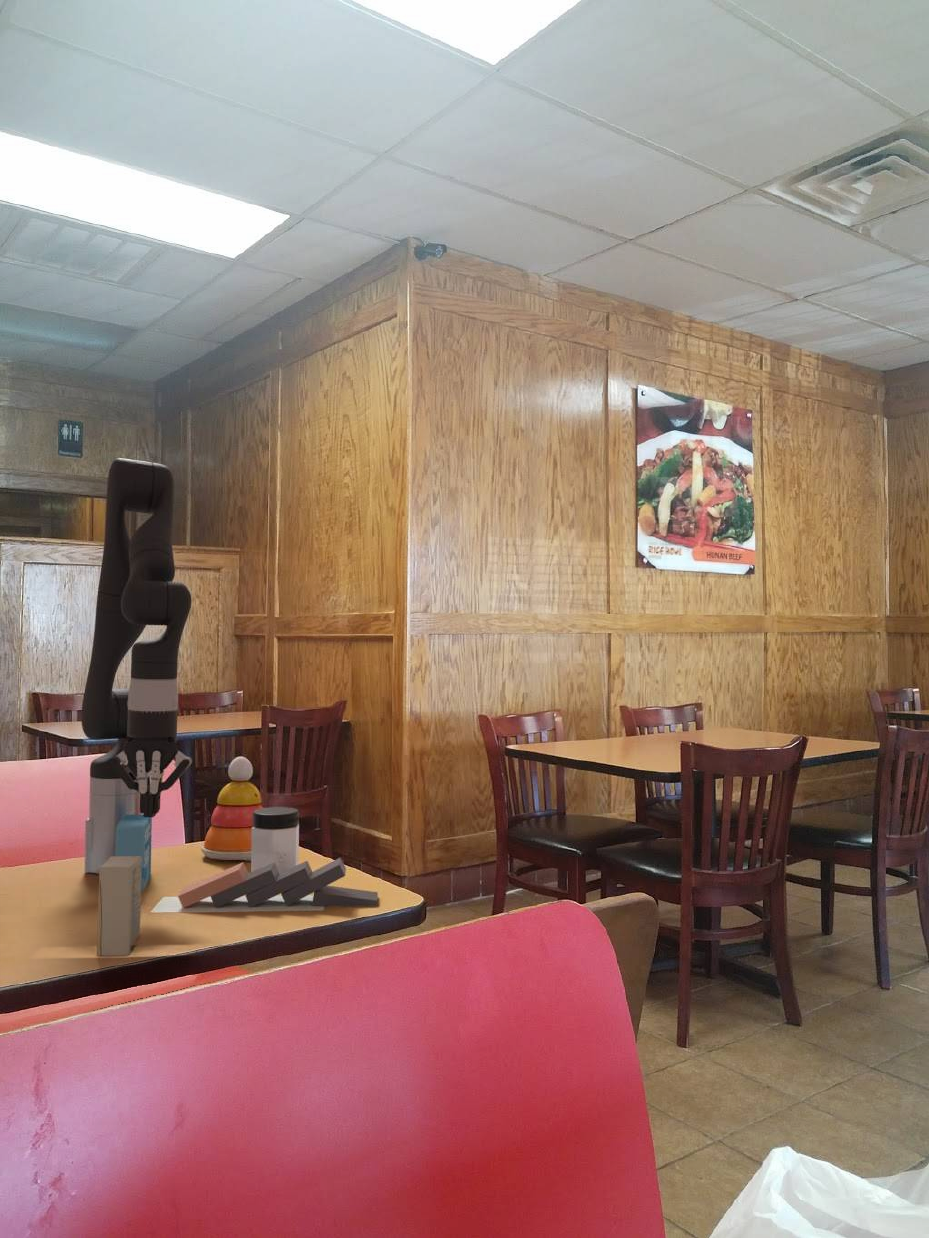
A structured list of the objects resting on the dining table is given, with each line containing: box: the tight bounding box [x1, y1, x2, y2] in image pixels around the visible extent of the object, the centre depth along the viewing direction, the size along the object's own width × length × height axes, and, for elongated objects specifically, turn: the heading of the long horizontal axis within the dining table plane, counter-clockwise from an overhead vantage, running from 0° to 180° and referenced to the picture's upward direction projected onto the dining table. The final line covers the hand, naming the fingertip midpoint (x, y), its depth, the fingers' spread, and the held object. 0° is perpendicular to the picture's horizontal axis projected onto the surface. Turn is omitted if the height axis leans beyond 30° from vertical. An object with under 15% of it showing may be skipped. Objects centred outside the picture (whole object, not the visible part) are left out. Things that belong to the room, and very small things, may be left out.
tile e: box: [312, 885, 379, 908], centre depth 153 cm, size 2×5×10 cm
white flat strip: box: [149, 894, 325, 914], centre depth 151 cm, size 26×9×1 cm, turn 95°
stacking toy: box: [200, 756, 264, 862], centre depth 190 cm, size 14×14×20 cm
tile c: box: [245, 860, 313, 907], centre depth 152 cm, size 2×5×10 cm
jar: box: [250, 806, 300, 874], centre depth 172 cm, size 9×8×12 cm
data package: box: [115, 813, 153, 892], centre depth 163 cm, size 12×4×12 cm, turn 13°
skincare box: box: [96, 856, 142, 957], centre depth 132 cm, size 6×4×12 cm
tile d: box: [281, 857, 347, 906], centre depth 152 cm, size 2×5×10 cm
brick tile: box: [177, 862, 249, 908], centre depth 151 cm, size 2×5×10 cm
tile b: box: [210, 862, 279, 908], centre depth 151 cm, size 2×5×10 cm
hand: (149, 816), depth 152 cm, fingers closed
